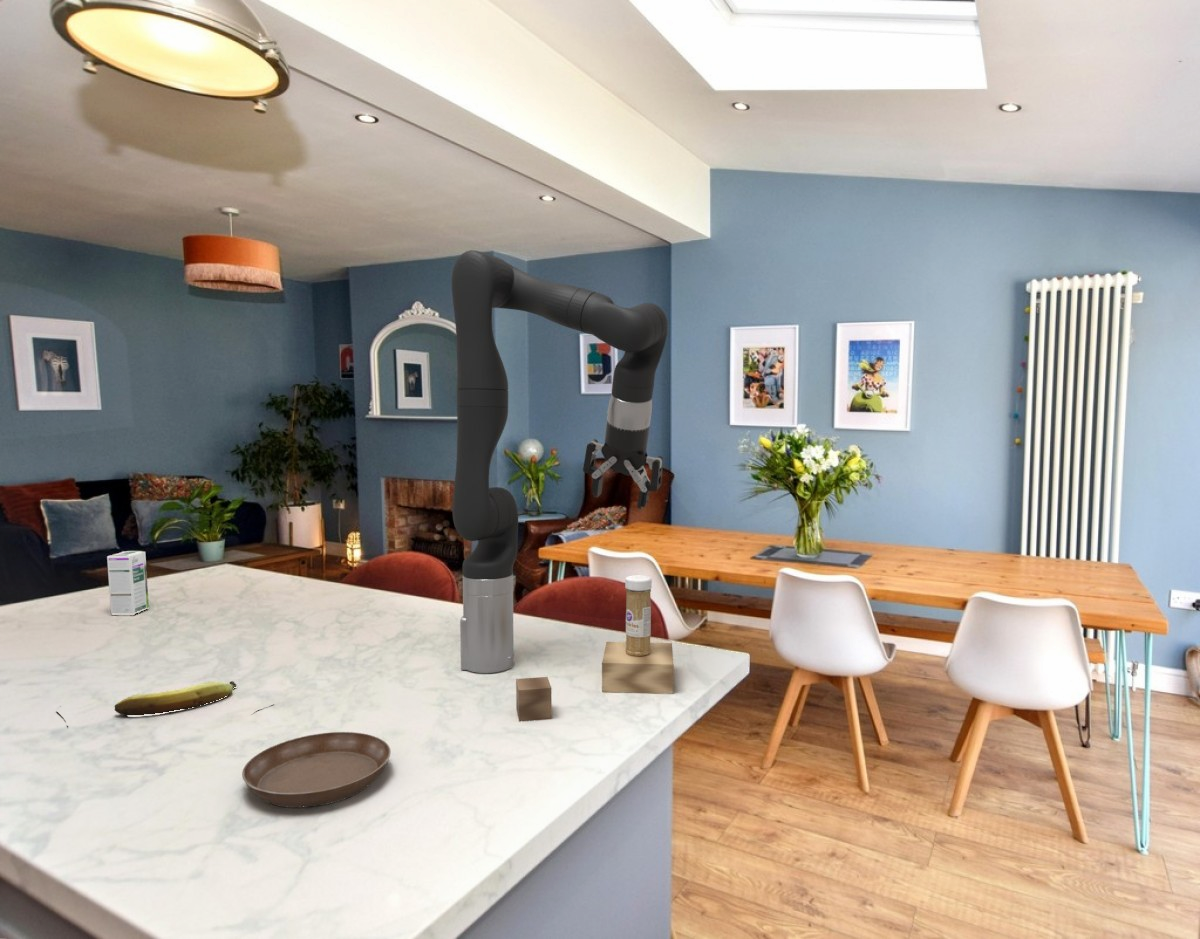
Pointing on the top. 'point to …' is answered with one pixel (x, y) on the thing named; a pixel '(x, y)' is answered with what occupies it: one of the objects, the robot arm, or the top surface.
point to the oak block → (638, 669)
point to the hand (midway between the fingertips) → (618, 501)
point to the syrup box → (128, 582)
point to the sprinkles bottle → (638, 615)
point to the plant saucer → (316, 768)
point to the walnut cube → (533, 699)
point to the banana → (174, 699)
